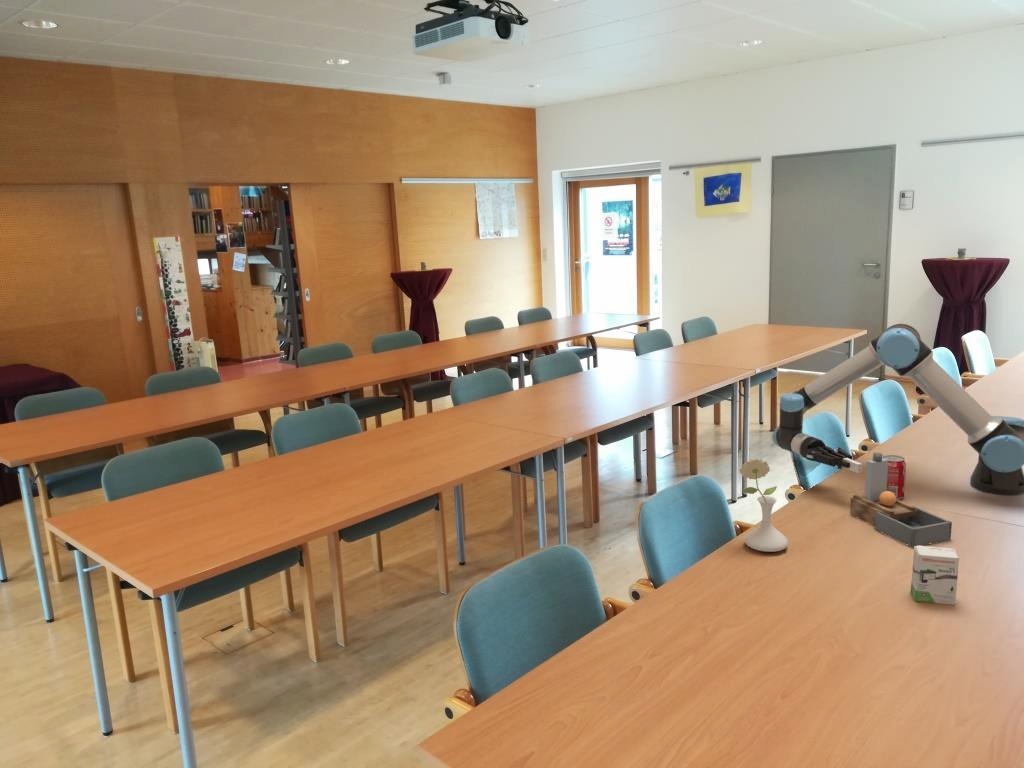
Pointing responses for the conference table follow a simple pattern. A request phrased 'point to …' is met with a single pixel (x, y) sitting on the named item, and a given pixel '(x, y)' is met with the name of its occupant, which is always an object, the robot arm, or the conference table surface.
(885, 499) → the ball
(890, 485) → the soda can
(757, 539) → the flower in vase
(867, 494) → the block with cylinder top
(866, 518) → the wooden box
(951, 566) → the ink box
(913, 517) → the tray
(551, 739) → the conference table surface
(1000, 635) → the conference table surface
